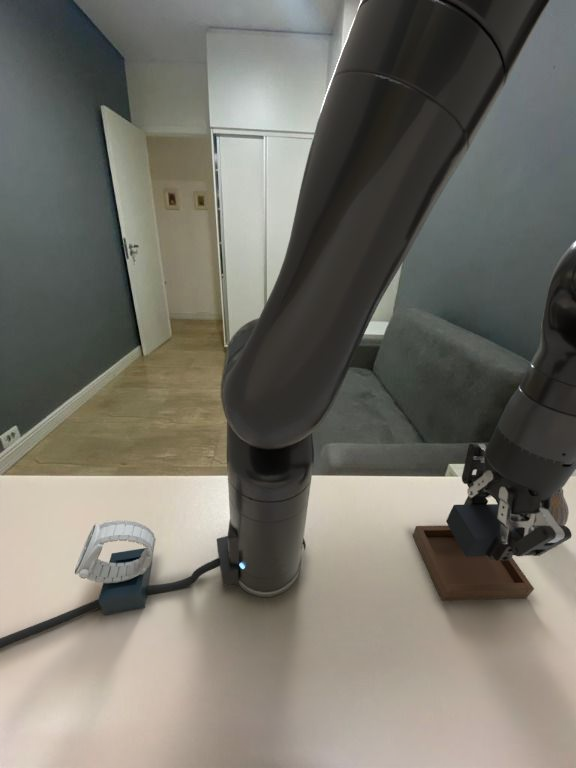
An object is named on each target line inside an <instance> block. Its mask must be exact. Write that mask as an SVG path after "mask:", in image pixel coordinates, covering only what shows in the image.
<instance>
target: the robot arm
mask: <svg viewBox="0 0 576 768" xmlns="http://www.w3.org/2000/svg"><path fill="white" fill-rule="evenodd" d="M550 2H551V0H360V3H359V5H358V8H357V10H356V13H355V16H354V17H353V21H352V24H351V26H350V29H349V32H348V34H347V37H346V40H345V43H344V45H343V48H342V50H341V53H340V56H339V58H338V62H337V63H336V67H335V69H334V72H333V75H332V77H331V80H330V81H329V85H328V87H327V91H326V94H325V97H324V100H323V103H322V106H321V109H320V113H319V115H318V119H317V122H316V124H315V125H316V126H315V129H314V133H313V136H312V140H311V144H310V147H309V151H308V155H307V158H306V163H305V167H304V171H303V175H302V179H301V184H300V189H299V194H298V197H297V203H296V208H295V213H294V217H293V221H292V226H291V232H290V237H289V240H288V244H287V247H286V251H285V254H284V259H283V262H282V264H281V267H280V270H279V273H278V275H277V278H276V281H275V283H274V285H273V288H272V290H271V292H270V294H269V296H268V299H267V300H266V302H265V304H264V307H263V309H262V310H261V313H260V316H259V317H257V318H254V319H252V320H250V321H248V322H246V323H244V324H243V325H242V326H240V328H238V329H237V331H236V332H235V333H234V334H233V335H232V336H231V338H230V340H229V342H228V344H227V346H226V349H225V352H224V359H223V367H222V373H221V380H220V401H221V406H222V410H223V413H224V416H225V419H226V469H227V470H226V471H227V488H228V507H229V521H228V530H227V535H225V536H222V537H218V538H216V548H217V549H216V550H217V555H218V556H217V558H216V559H213V560H211V561H209V562H207V563H205V564H203V565H201V566H199V567H198V568H196V569H195V570H194V571H193V572H192V574H191V575H190V576H188V577H186V578H183V579H179V580H176V581H172V582H166V583H159V584H149V586H147V587H146V594H147V595H153V594H163V593H169V592H173V591H178V590H181V589H184V588H187V587H188V586H191V585H193V584H194V583H196V582H197V581H198V580H199V578H200V576H202V575H204V574H206V573H208V572H210V571H212V570H214V569H216V568H219V569H220V575H221V582H222V586H227V585H230V584H231V585H237V586H240V588H242V589H243V590H244V591H245V592H247V593H248V594H250V595H253V596H254V597H260V598H261V597H262V598H271V597H275V596H278V595H280V594H282V593H285V592H286V591H287V590H288V589H290V588H291V587H292V586H293V584H294V583H295V582H296V580H297V578H298V577H299V574H300V571H301V567H302V555H303V554H302V553H303V550H304V551H306V547H307V544H306V541H305V530H306V523H307V514H308V507H309V499H310V491H311V485H312V478H313V471H314V470H313V469H314V463H315V462H314V461H315V452H314V451H315V449H314V439H313V433H314V431H315V430H317V428H318V427H320V425H321V424H322V423H323V421H324V420H325V419H326V417H327V416H328V414H329V413H330V411H331V409H332V407H333V405H334V403H335V401H336V399H337V397H338V394H339V392H340V390H341V388H342V385H343V383H344V381H345V378H346V376H347V374H348V371H349V369H350V367H351V365H352V363H353V360H354V358H355V356H356V354H357V351H358V349H359V347H360V345H361V343H362V340H363V338H364V335H365V334H366V331H367V329H368V327H369V324H370V322H371V321H372V318H373V316H374V314H375V312H376V310H377V308H378V306H379V304H380V302H381V301H382V299H383V297H384V296H385V293H386V291H387V290H388V289H389V286H390V285H391V283H392V281H394V278H395V276H396V275H397V273H398V271H399V270H400V268H401V266H402V265H403V263H404V261H405V259H406V257H407V256H408V254H409V253H410V250H411V249H412V247H413V245H414V244H415V242H416V239H417V237H418V236H419V234H420V232H421V230H422V229H423V227H424V225H425V223H426V222H427V220H428V218H429V216H430V214H431V213H432V210H433V209H434V207H435V205H436V204H437V202H438V200H439V198H440V196H441V194H442V193H443V192H444V190H445V188H446V186H447V185H448V184H449V182H450V180H451V179H452V177H453V175H454V174H455V172H456V171H457V169H458V167H459V166H460V164H461V162H462V160H463V159H464V158H465V155H466V154H467V152H468V151H469V149H470V147H471V145H472V143H474V141H475V138H476V136H477V134H478V133H479V131H480V130H481V127H482V126H483V124H484V123H485V120H486V119H487V117H488V115H489V113H490V112H491V110H492V108H493V106H494V105H495V103H496V101H497V99H498V98H499V96H500V94H501V92H502V90H504V88H505V85H506V83H507V82H508V80H509V78H510V76H511V74H512V73H513V71H514V68H515V67H516V64H517V62H518V61H519V60H520V57H521V55H522V54H523V52H524V50H525V48H526V46H527V44H528V42H529V40H530V39H531V36H532V35H533V33H534V31H535V29H536V27H537V25H538V23H539V21H540V19H541V18H542V16H543V14H544V13H545V11H546V9H547V7H548V5H549V4H550ZM539 330H540V331H539V340H538V345H537V349H536V351H535V353H534V355H533V357H532V359H531V360H530V362H529V364H528V366H527V369H526V371H525V373H524V375H523V376H522V378H521V381H520V383H519V385H518V387H517V388H516V390H515V391H514V392H513V394H512V396H511V397H510V398H509V399H508V402H507V404H506V405H505V408H504V409H503V412H502V413H501V416H500V418H499V420H498V422H497V424H496V426H495V428H494V430H493V432H492V435H491V436H490V438H489V441H488V442H487V443H469V444H468V447H467V451H466V455H465V460H464V465H463V468H462V469H463V470H462V475H461V482H462V483H463V484H464V485H467V487H468V489H467V492H466V493H467V497H466V499H465V500H464V501H465V502H464V503H463V505H470V504H471V505H472V504H489V500H488V499H489V498H491V497H492V498H493V499H494V500H495V502H496V504H498V505H499V510H498V516H497V519H498V521H499V522H500V530H499V536H496V537H495V540H494V541H493V543H492V545H491V546H490V548H489V549H488V551H487V553H486V554H487V555H488V557H489V558H490V559H491V560H494V559H495V560H496V561H505V560H510V558H511V557H512V558H513V556H516V557H528V556H529V557H530V556H533V557H540V556H541V555H544V554H545V553H547V552H549V551H550V550H553V549H554V548H556V547H558V546H559V545H561V544H563V543H565V542H566V541H568V540H570V539H571V538H572V531H571V530H570V528H569V527H568V526H566V525H565V526H559V525H558V524H557V523H556V521H555V520H554V518H553V517H552V515H551V514H550V512H549V510H550V508H551V499H552V496H553V495H554V494H555V493H556V492H558V491H559V490H560V489H561V488H562V489H563V488H564V487H565V485H566V484H567V483H568V481H569V480H570V478H571V476H573V474H574V472H575V471H576V239H575V240H574V241H573V242H572V243H570V245H569V246H568V247H567V248H566V250H565V251H564V253H563V254H562V256H561V257H560V258H559V260H558V262H557V264H556V266H555V267H554V270H553V272H552V275H551V278H550V281H549V284H548V287H547V292H546V297H545V301H544V306H543V313H542V318H541V323H540V328H539ZM474 471H475V474H473V473H474ZM511 514H519V515H511ZM535 516H536V522H535V523H534V519H535ZM533 524H534V526H533ZM514 527H516V528H515V532H512V529H513V528H514ZM529 528H530V529H531V530H532V532H530V533H529V534H528V530H529ZM513 554H514V555H513ZM98 600H99V598H97V599H95V600H92V601H91V602H87V603H86V604H83V605H81V606H78V607H76V608H73V609H71V610H69V611H67V612H64V613H61V614H59V615H57V616H54V617H52V618H49V619H47V620H44V621H41V622H39V623H36V624H33V625H31V626H28V627H26V628H24V629H21V630H18V631H15V632H13V633H10V634H8V635H5V636H1V637H0V649H3V648H6V647H8V646H10V645H12V644H15V643H18V642H20V641H22V640H25V639H27V638H30V637H33V636H35V635H37V634H41V633H43V632H46V631H48V630H51V629H53V628H55V627H58V626H61V625H62V624H65V623H67V622H70V621H72V620H74V619H77V618H80V617H82V616H84V615H86V614H88V613H90V612H93V611H96V610H98V609H102V608H101V606H100V604H99V602H98Z"/></svg>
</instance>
